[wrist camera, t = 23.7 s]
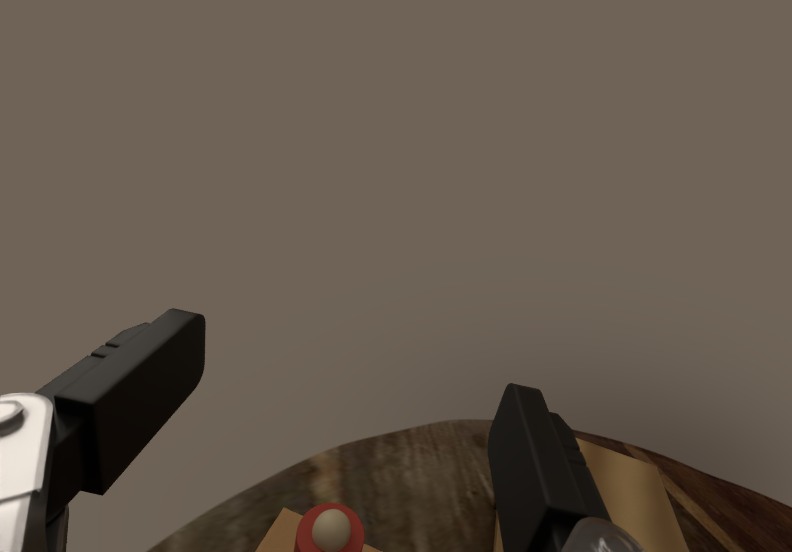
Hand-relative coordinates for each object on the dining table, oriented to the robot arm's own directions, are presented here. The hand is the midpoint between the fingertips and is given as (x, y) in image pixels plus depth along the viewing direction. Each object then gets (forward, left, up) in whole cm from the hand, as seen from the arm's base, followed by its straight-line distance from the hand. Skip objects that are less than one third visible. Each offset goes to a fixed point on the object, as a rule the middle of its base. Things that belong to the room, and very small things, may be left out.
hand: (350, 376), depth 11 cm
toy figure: (+2, -10, -27) cm, 29 cm away
